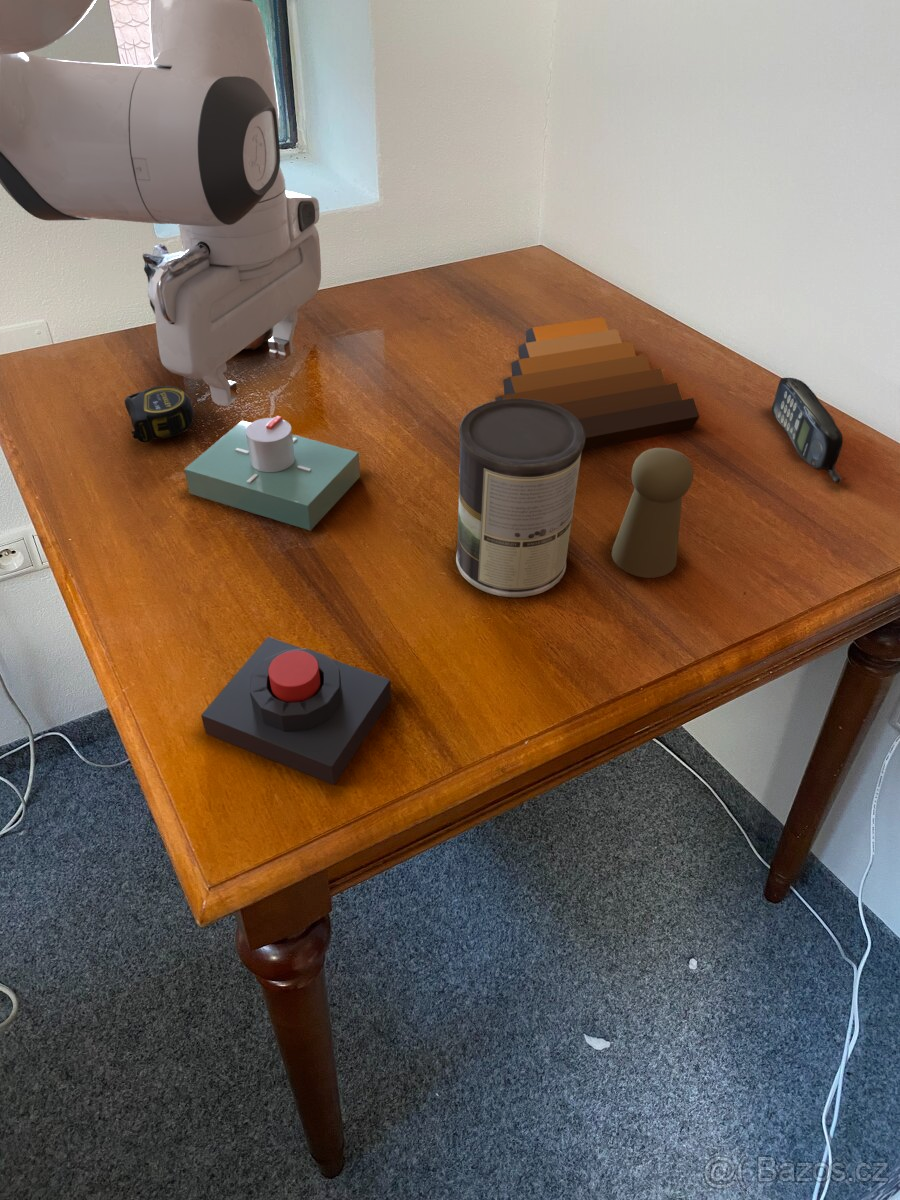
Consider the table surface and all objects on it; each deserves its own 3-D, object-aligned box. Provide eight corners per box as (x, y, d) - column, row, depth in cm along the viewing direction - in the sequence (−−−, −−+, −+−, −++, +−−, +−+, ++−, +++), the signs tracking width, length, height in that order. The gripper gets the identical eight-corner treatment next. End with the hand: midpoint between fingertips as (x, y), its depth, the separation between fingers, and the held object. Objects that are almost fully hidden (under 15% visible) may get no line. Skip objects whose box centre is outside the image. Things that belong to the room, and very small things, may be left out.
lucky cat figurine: (289, 346, 111) (243, 269, 98) (208, 394, 111) (151, 324, 98) (245, 271, 117) (196, 190, 104) (168, 318, 117) (109, 242, 104)
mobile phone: (776, 373, 98) (833, 443, 87) (801, 372, 99) (861, 442, 87) (765, 413, 102) (818, 485, 90) (790, 412, 102) (846, 484, 91)
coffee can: (432, 565, 80) (433, 432, 71) (500, 513, 86) (509, 384, 77) (523, 615, 76) (537, 480, 66) (588, 557, 81) (609, 426, 72)
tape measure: (128, 419, 98) (120, 389, 95) (190, 408, 100) (184, 378, 97) (136, 451, 93) (128, 420, 91) (201, 439, 95) (195, 408, 92)
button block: (205, 734, 65) (196, 698, 63) (271, 655, 72) (265, 620, 69) (334, 785, 62) (330, 750, 60) (391, 698, 68) (390, 663, 66)
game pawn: (683, 547, 83) (709, 448, 75) (667, 585, 79) (692, 485, 71) (622, 529, 85) (641, 431, 77) (603, 566, 81) (621, 466, 73)
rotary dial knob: (280, 476, 85) (276, 443, 82) (241, 466, 86) (236, 433, 83) (303, 453, 88) (299, 420, 85) (265, 443, 89) (260, 411, 86)
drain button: (261, 693, 64) (258, 677, 63) (287, 660, 66) (285, 644, 65) (304, 709, 63) (302, 693, 62) (329, 675, 65) (327, 659, 64)
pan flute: (488, 473, 91) (695, 432, 98) (489, 445, 89) (702, 405, 96) (413, 363, 108) (594, 335, 115) (413, 338, 106) (597, 310, 113)
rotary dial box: (189, 493, 88) (183, 467, 86) (245, 444, 94) (241, 418, 92) (310, 531, 84) (307, 504, 81) (360, 476, 90) (358, 450, 88)
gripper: (190, 277, 64) (218, 441, 73) (329, 195, 78) (337, 341, 87) (119, 262, 65) (156, 423, 75) (267, 183, 79) (282, 328, 89)
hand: (254, 378), depth 81 cm, fingers open, 8 cm apart
